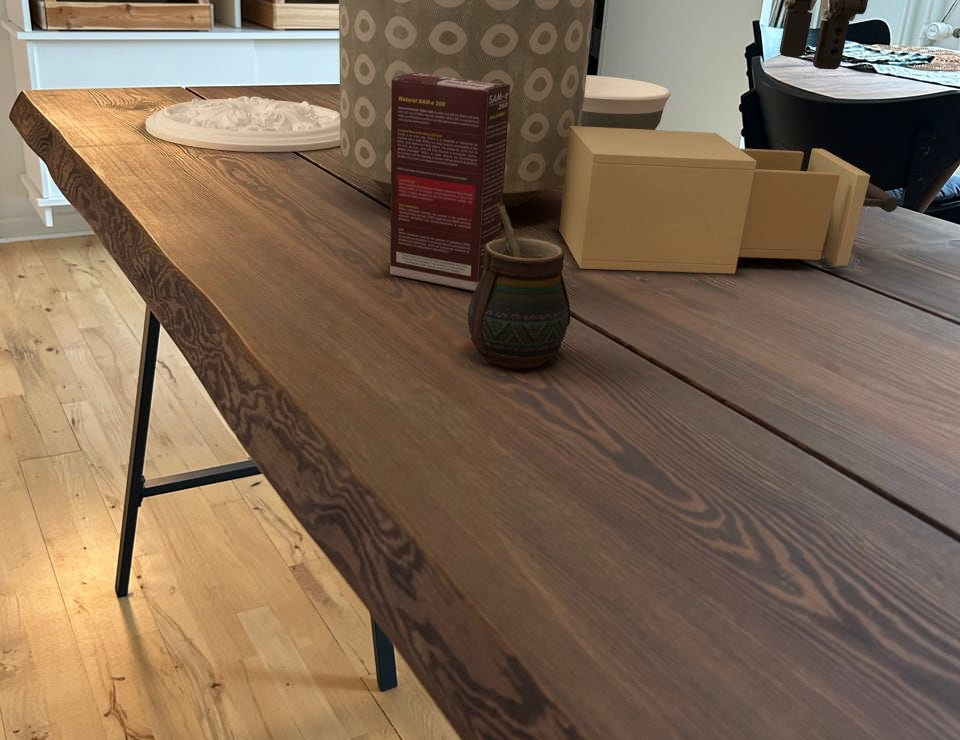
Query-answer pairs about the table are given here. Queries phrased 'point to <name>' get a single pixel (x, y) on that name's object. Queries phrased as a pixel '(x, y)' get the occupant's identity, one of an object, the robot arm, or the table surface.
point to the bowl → (622, 103)
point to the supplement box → (446, 176)
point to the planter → (467, 76)
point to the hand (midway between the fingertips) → (807, 62)
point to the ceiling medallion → (247, 125)
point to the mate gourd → (519, 301)
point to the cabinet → (654, 200)
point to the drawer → (806, 206)
